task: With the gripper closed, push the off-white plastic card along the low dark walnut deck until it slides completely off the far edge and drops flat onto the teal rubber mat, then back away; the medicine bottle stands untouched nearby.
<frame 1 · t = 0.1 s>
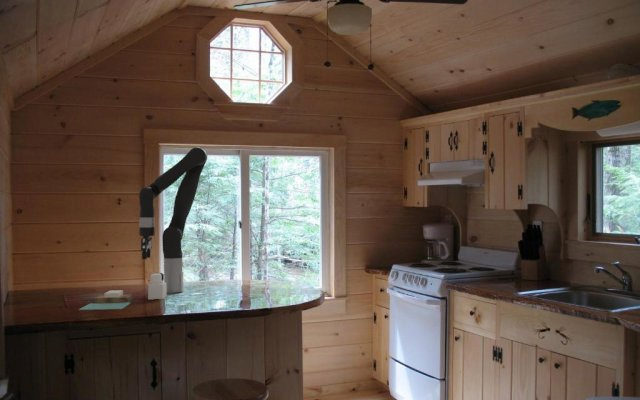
hand: (146, 258, 317), 17 cm above the counter, tool pointing down, fingers open, 8 cm apart
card: (113, 296, 289), point 2 cm above the counter, touching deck
medicine bottle: (157, 298, 297), on the counter
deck: (113, 301, 289), on the counter
mat: (105, 306, 276), on the counter
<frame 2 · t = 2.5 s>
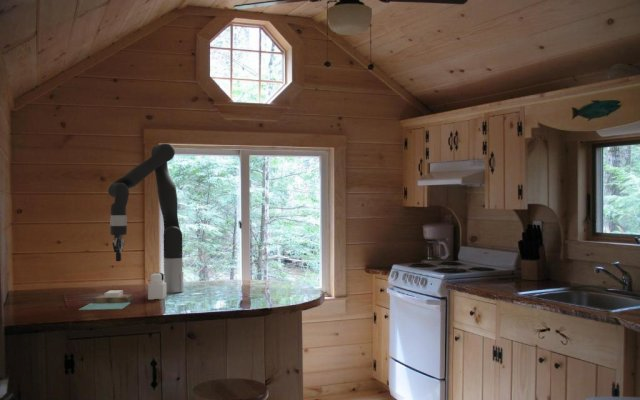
hand: (118, 261, 299), 18 cm above the counter, tool pointing down, fingers closed
nothing on the counter moved.
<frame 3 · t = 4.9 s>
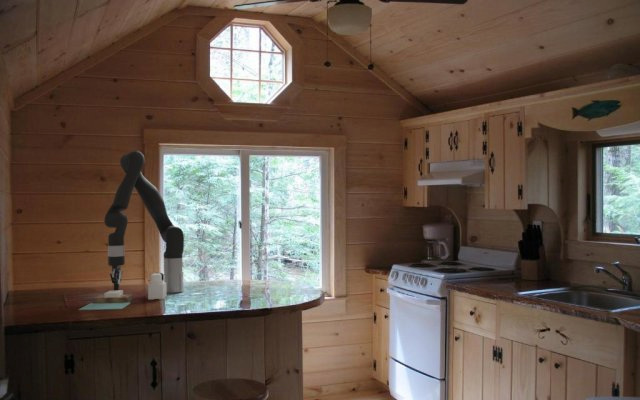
hand: (116, 291, 295), 4 cm above the counter, tool pointing down, fingers closed
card: (113, 296, 289), point 2 cm above the counter, touching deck, gripper
everything else where it was.
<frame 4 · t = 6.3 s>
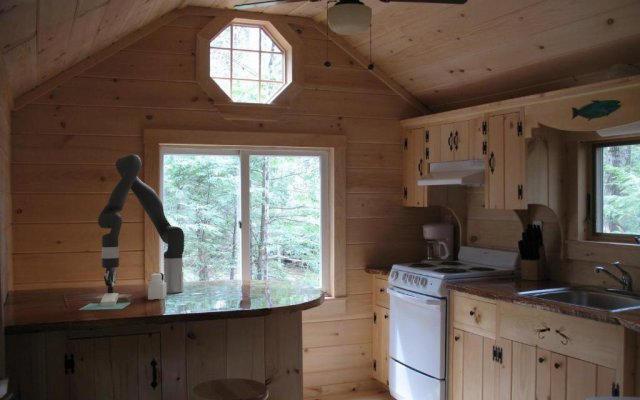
hand: (110, 294, 285), 4 cm above the counter, tool pointing down, fingers closed
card: (109, 301, 280), point 1 cm above the counter, tilted 15°, touching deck, gripper, mat
everything else where it was.
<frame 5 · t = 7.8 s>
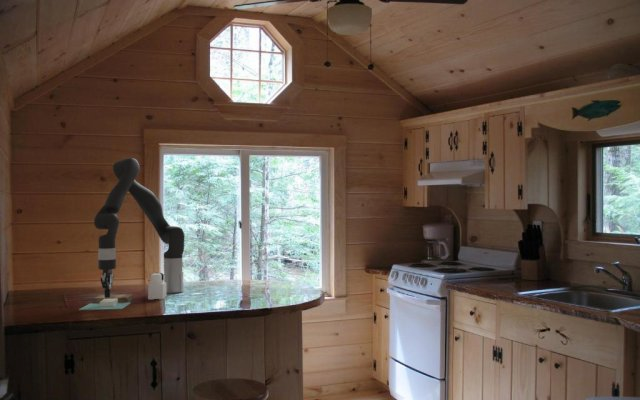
hand: (107, 297, 279), 4 cm above the counter, tool pointing down, fingers closed
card: (109, 304, 279), resting on mat
everything else where it was.
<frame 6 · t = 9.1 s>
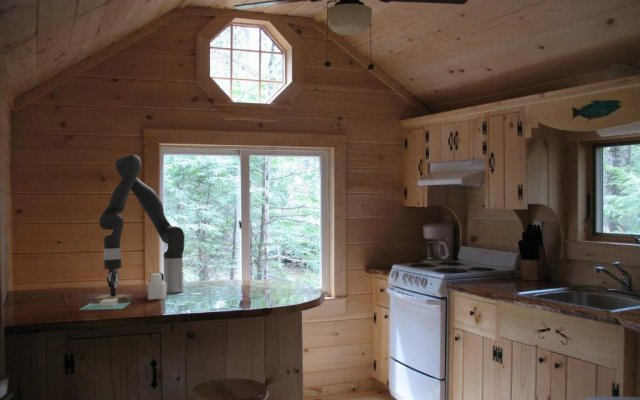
hand: (113, 295, 286), 3 cm above the counter, tool pointing down, fingers closed
nothing on the counter moved.
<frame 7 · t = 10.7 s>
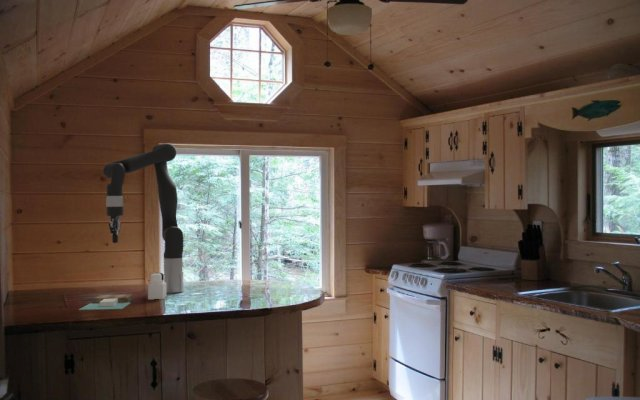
hand: (115, 242, 293), 27 cm above the counter, tool pointing down, fingers closed
nothing on the counter moved.
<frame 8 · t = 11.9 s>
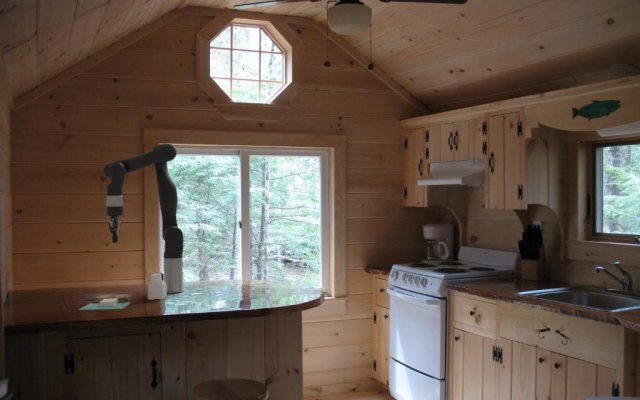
hand: (115, 242, 293), 27 cm above the counter, tool pointing down, fingers closed
nothing on the counter moved.
at the end: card resting on mat; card inside the target area on the mat (3.3 cm from its centre), point 0.3 cm above the mat's base; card touching mat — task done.
